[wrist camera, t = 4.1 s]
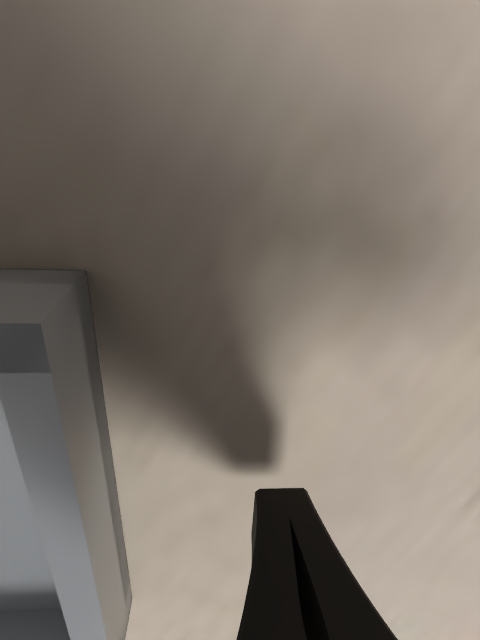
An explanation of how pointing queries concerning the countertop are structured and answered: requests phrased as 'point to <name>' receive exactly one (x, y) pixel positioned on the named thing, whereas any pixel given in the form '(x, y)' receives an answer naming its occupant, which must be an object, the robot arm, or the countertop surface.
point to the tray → (56, 468)
